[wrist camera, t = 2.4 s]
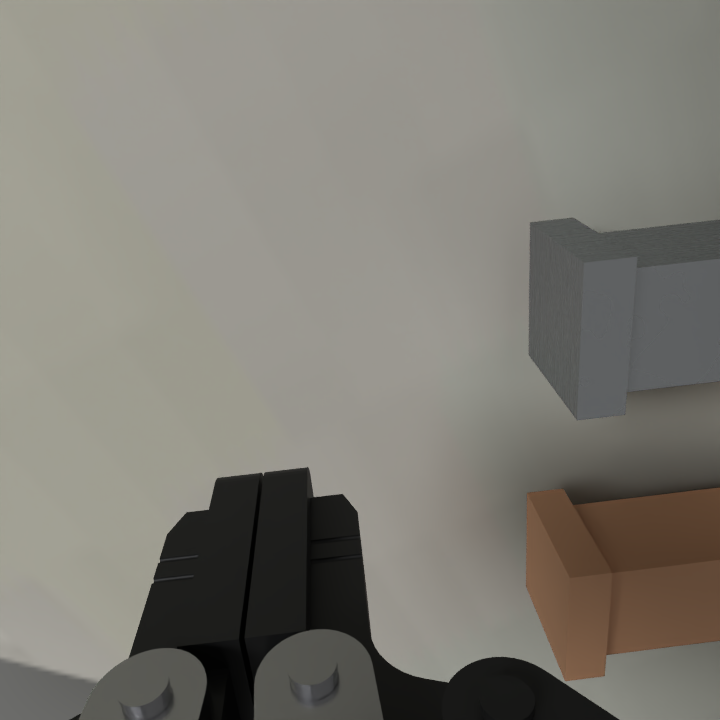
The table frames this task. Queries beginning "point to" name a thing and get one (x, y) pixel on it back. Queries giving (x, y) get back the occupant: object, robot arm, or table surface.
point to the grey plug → (623, 310)
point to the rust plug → (623, 574)
